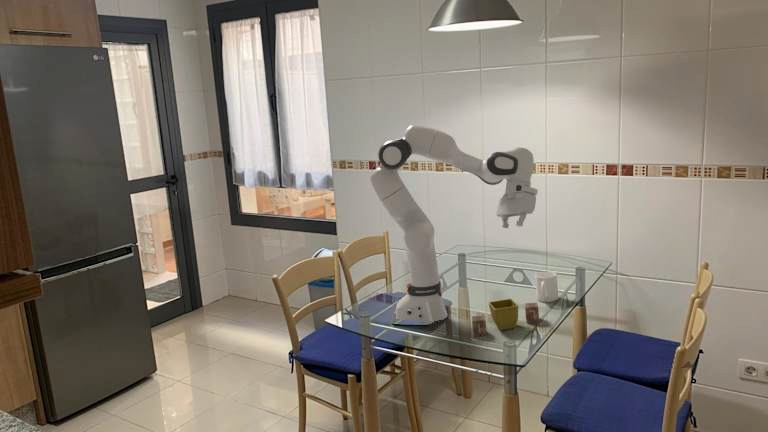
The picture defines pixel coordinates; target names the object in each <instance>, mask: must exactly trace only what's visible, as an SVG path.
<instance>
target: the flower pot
mask: <svg viewBox="0 0 768 432" xmlns="http://www.w3.org/2000/svg"><path fill="white" fill-rule="evenodd" d="M488 307H489V310H490V315H491V318H492V320H493V322H494V323H495V325H496V327H498V329H499V330H500V331H505V330H510V329H515V328H516V326H517V324H518V320H519V304H517V302H515V301H514V300H513V298H507V299H501V300H494V301H489V302H488Z"/></svg>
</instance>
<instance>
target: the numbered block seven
mask: <svg viewBox="0 0 768 432" xmlns="http://www.w3.org/2000/svg"><path fill="white" fill-rule="evenodd" d="M524 311H525V312H524V313H525V321H526V323H527V324H535V323H540V312H539V304H538V302H525V303H524Z"/></svg>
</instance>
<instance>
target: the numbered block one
mask: <svg viewBox="0 0 768 432" xmlns="http://www.w3.org/2000/svg"><path fill="white" fill-rule="evenodd" d="M471 317H472V318H471V323H472V333H473V338H479V337H481V338H482V337H488V335H487V333H488V332H487V323H486V322H487V321H486V315H475V316H471Z"/></svg>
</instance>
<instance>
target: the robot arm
mask: <svg viewBox="0 0 768 432" xmlns="http://www.w3.org/2000/svg"><path fill="white" fill-rule="evenodd" d="M377 153H378V154H377V157H378V160H379V163H380V164H379V166H378V167H376V168H375V169H373V171H372V173H371V174H370V176H369V177H370V179H369V180H370V183H371V185H372V187H373V189H374V192H375V194H376V195H377V197H378V200H380V202H381V203H382V206H383V207H384V208H385V209H386V211H387V213H388V215H389V216H390V218H391V219H392V220H393V221H394V222H395V223H396V224H397V225H398V226H399V228H400V229H401V230H402V231H403V233H404V236H403V240H404V246H405V253H406V257H407V262H408V268H409V274H410V281H408V282H407V284H406V291H407V293H406V294H405V295H404V296H403V297H402V298H401V299H400V300H399V301H398V302H397V304H396V308H395V313H396V319H403V320H406V319H410V320H412V319H413V320H420V321H422V322H424V321H426V323H424V324H429V323H432V322H434V321H438V320H441V321H444V320H445V319H446V318H448V313H447V310H446V307H445V303H444V300H443V288H442V287H443V286H442V283H441V282H442V281H441V280H440V274H439V267H438V260H437V253H436V247H435V227H434V225H433V223H432V221H430V219H429V217H428V216H427V215H426V214H425V212H424V211H423V210H422V208H421V207H420V206H419V205H418V204H417V202H416V200H415V199H414V197H413V196H412V194H411V193H410V191H409V189H408V188H407V187H406V184H405V183H404V182H403V180H402V179H401V177H400V175H399V169H400V168H402V167H403V166H404V165H405V163H406V162H407V160H408V159H409V158H410V156H412V155H417V156H421V157H423V158H427V159H430V160H434V161H436V162H441V163H443V164H446V165H450V166H452V167H455V168H458V169H460V170H462V171H464V172H467V173H469V174H473V175H475V176H476V177H477V178H478V179H480V180H481V181H482V182H483V183H485V184H486V185H490V186H494V185H498V184H501V182H503V181H504V179H505V180H506V185H505V191H504V194H503V195H502V197H500V199H499V201H498V205H497V207H496V208H497V209H496V217H498V218H501V221H502V226H501V227H502V229H508V228H509V226H510V225H509V224H510V223H509V222H508V221H509V218H511V217H517V216H518V217H519V218H518V220H516V227H523V226H524V222H525V220H526V217H527V215H531V214H533V213H534V211H535V208H536V203H537V195H538V191H539V190H538V189H537V188H536V187H531V184H532V183H531V178H532V175H533V172H534V154H533V153H532V152H531V151H530V150H529V149H527V148H524V147H520V146H519V147H518V146H517V147H514V148H513V149H510V150H506V151H496V152H493V153H491V154H490V155H489V156H488V157H487V158H486V159H481V158H478V157H475V156H473V155H471V154H468V153H466V152H464V151H462V150H461V149H460V148H459V147H458V145H457V143H456V140H455V138H454V137H453V136H452V135H450V134H448V133H446V132H445V131H441V130H439V129H435V128H432V127H428V126H424V125H417V124H411V125H409V126H408V127H407V128H406V129H405V131H404V134H403V136H402V137H401V138H398V139H396V138H391V139H387V140H385V141H383V143H382V144H381V145H380V147H379V150H378V152H377ZM438 322H439V321H438ZM422 324H423V323H422Z"/></svg>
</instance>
